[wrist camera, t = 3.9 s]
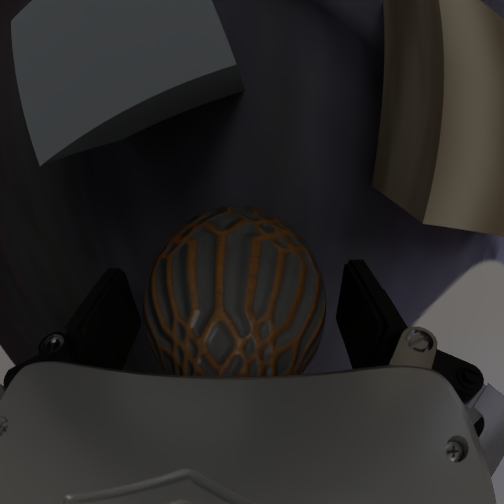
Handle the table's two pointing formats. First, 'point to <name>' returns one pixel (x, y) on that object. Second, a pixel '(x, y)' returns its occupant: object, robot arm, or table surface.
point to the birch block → (443, 113)
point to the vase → (234, 297)
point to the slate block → (115, 68)
